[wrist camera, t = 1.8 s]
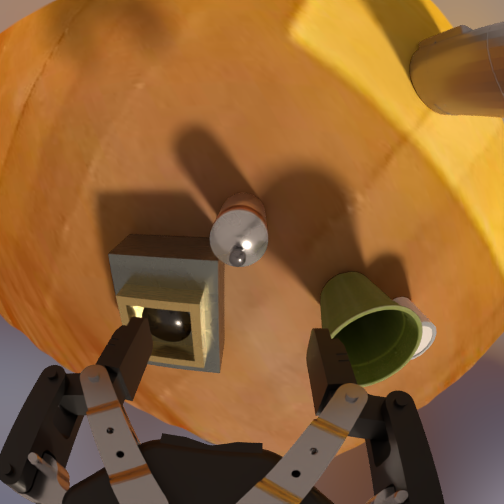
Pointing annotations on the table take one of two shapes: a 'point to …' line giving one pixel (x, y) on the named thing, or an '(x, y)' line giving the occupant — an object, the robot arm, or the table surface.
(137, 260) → the grey block with socket
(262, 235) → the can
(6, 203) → the table surface
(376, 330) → the plant pot
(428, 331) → the white cylinder
